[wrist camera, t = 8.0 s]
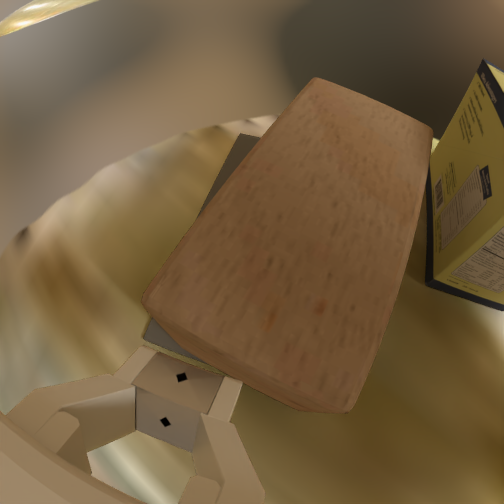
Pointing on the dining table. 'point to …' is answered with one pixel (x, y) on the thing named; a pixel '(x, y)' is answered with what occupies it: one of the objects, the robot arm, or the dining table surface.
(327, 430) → the dining table surface
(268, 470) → the dining table surface
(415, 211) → the wooden block
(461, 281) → the protein box
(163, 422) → the robot arm
